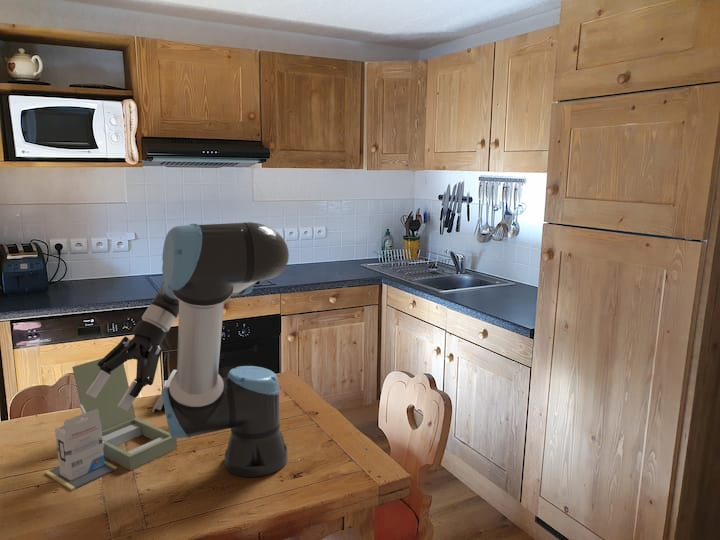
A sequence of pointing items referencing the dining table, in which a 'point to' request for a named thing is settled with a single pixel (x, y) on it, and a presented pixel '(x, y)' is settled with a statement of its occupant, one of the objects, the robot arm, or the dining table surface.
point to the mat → (82, 479)
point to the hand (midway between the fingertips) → (105, 402)
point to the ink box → (80, 445)
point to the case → (119, 418)
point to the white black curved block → (159, 403)
